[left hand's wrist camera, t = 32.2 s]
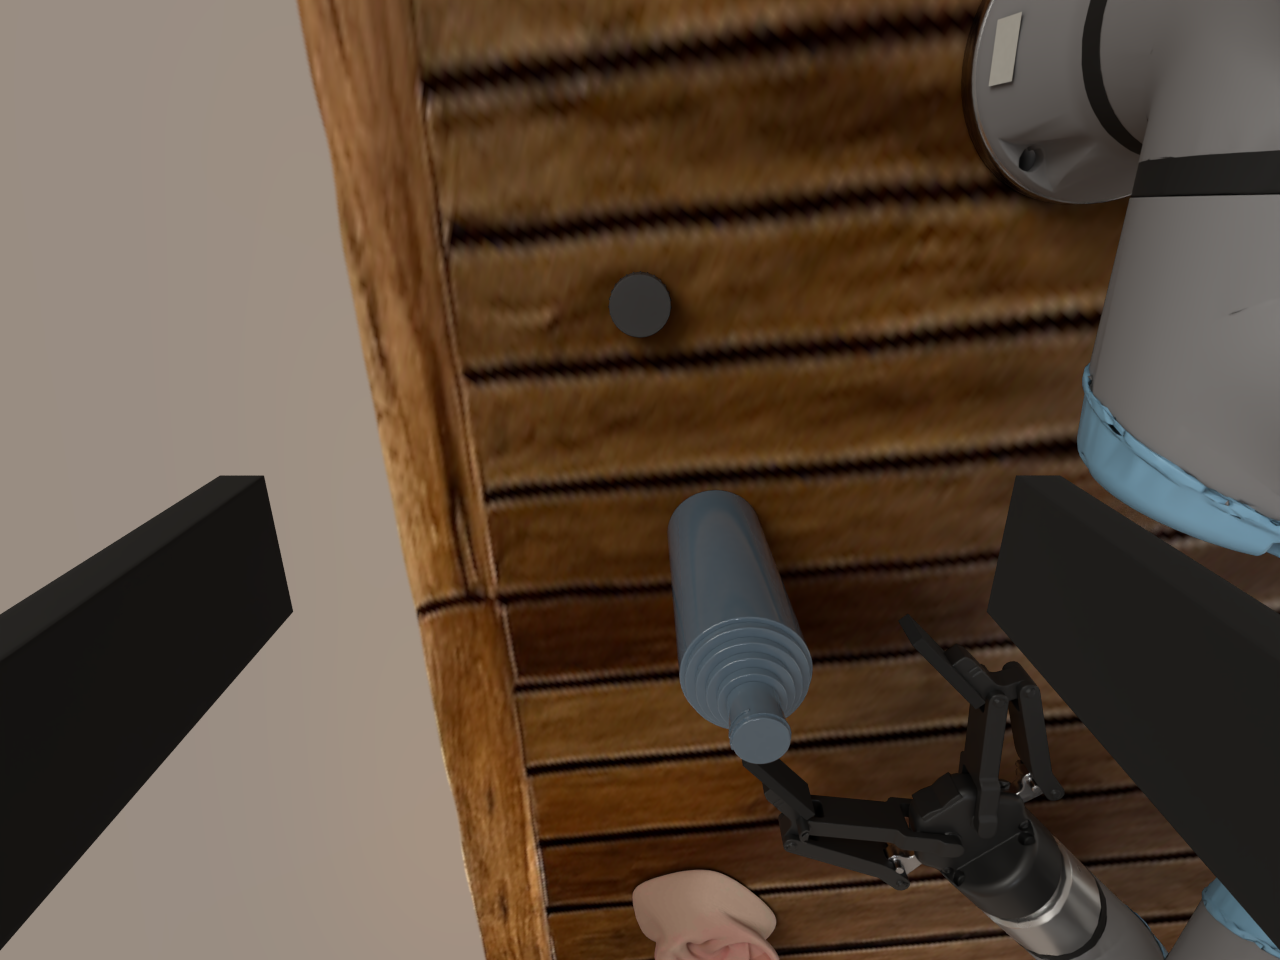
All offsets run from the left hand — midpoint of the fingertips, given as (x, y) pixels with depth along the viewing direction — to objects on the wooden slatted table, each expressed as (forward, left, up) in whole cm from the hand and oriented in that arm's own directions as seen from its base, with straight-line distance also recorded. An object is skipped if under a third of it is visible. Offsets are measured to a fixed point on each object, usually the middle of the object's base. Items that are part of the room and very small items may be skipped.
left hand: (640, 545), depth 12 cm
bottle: (-3, +17, -34) cm, 38 cm away
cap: (0, 0, -33) cm, 33 cm away
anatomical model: (+2, +56, -34) cm, 66 cm away
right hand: (-8, +25, -25) cm, 37 cm away
